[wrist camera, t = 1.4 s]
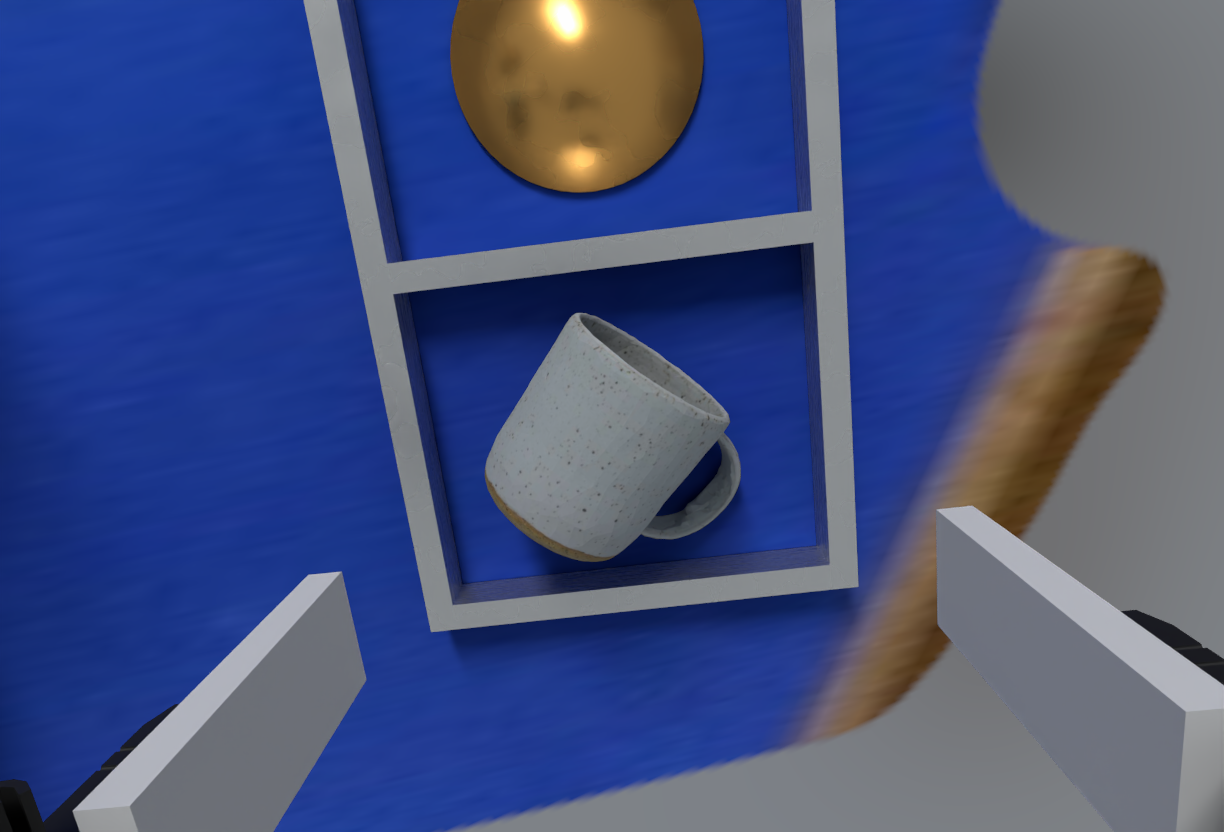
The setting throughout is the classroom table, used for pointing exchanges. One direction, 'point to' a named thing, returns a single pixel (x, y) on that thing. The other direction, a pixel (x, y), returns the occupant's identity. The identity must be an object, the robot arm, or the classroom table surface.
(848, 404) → the slot rack
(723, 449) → the ceramic mug
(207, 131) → the classroom table surface
